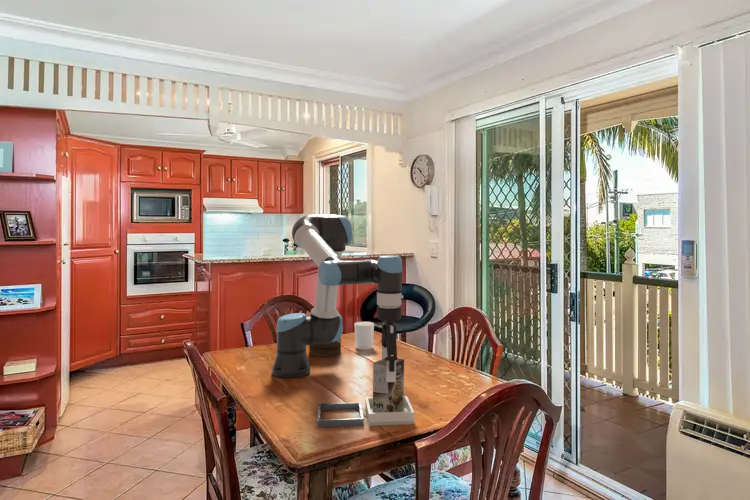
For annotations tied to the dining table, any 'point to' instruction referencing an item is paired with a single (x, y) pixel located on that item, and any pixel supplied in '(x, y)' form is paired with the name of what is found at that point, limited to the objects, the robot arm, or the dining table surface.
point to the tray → (389, 414)
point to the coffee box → (388, 388)
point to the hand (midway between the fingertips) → (388, 374)
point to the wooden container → (326, 348)
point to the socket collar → (340, 421)
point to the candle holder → (364, 335)
